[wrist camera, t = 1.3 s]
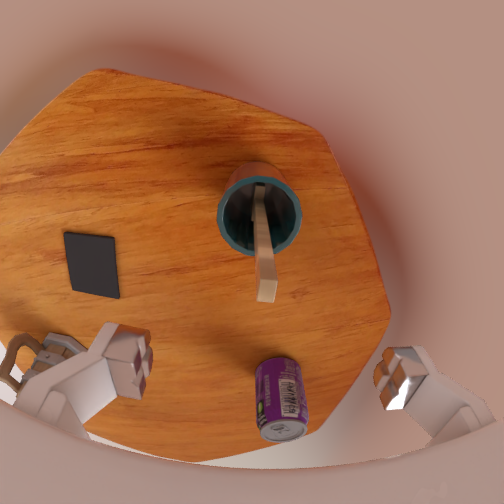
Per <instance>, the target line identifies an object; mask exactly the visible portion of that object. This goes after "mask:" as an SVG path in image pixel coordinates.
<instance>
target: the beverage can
mask: <svg viewBox="0 0 504 504" xmlns="http://www.w3.org/2000/svg"><path fill="white" fill-rule="evenodd" d="M255 385H256V423H257V426H258V428H259V430H260V435H261V437H262V438H263V439H265V440H267V441H270V442H277V443H282V442H290V441H293V440H296V439H299V438H301V437H302V436H304V435H305V434H306V432H307V423H308V421H309V415H308V409H307V403H306V397H305V391H304V385H303V380H302V374H301V369H300V366H299V365H298V363H297V362H295V361H294V360H291V359H288V358H272V359H269V360H266V361H264V362H263V363H261V364H260V365H259V366H258V367H257V369H256V372H255Z"/></svg>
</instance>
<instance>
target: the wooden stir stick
mask: <svg viewBox="0 0 504 504" xmlns="http://www.w3.org/2000/svg"><path fill="white" fill-rule="evenodd" d="M265 188H266V187H265V183H263V182H254V186H253V193H252V201H251V221H254V246H255V272H256V299H257V301H261V302H271V303H273V302H274V299H275V294H276V289H277V284H278V278H277V272H276V266H275V261H274V255H273V249H272V244H271V238H270V232H269V227H268V221H267V216H266V210H265V205H264V195H265Z"/></svg>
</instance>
